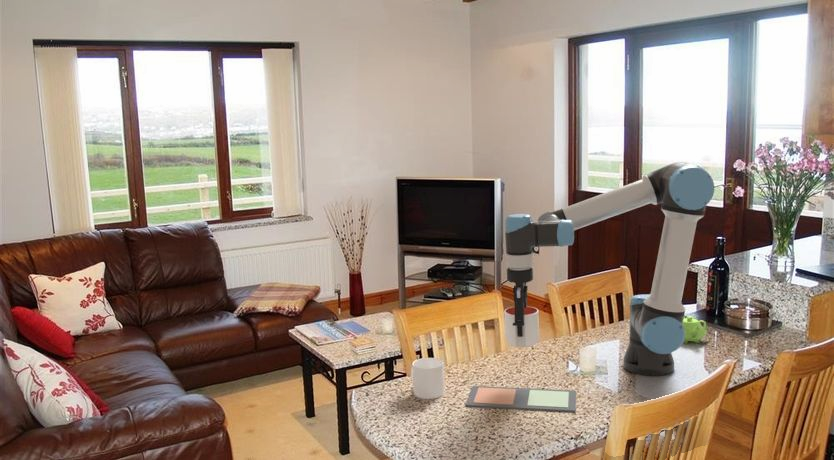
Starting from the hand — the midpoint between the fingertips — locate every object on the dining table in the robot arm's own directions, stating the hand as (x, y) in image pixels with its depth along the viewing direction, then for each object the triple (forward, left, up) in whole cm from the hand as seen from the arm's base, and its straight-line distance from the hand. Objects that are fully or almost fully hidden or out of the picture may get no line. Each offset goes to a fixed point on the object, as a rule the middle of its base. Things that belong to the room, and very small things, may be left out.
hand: (522, 340), depth 217 cm
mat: (-1, +12, -13) cm, 18 cm away
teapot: (-53, -46, -14) cm, 71 cm away
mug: (+27, +10, -14) cm, 32 cm away
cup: (0, 0, -1) cm, 1 cm away
